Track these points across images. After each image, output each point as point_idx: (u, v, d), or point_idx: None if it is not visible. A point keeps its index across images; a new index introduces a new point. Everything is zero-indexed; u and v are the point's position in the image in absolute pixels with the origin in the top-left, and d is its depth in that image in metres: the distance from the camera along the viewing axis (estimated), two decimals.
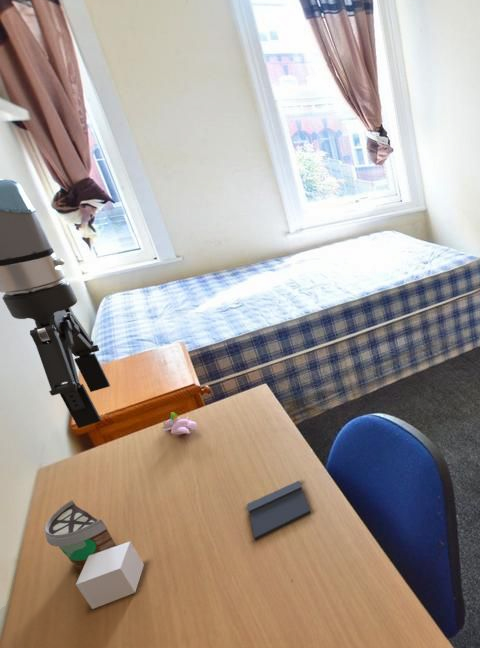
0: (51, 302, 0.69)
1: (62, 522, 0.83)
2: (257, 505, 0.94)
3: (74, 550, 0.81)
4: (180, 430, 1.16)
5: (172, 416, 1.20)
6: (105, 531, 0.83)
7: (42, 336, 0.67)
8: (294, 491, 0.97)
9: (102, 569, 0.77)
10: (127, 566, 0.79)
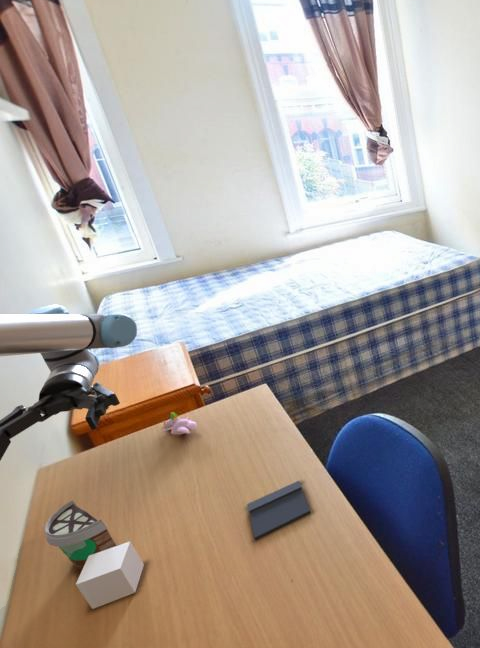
0: None
1: (62, 522, 0.83)
2: (257, 505, 0.94)
3: (74, 550, 0.81)
4: (180, 430, 1.16)
5: (172, 416, 1.20)
6: (105, 531, 0.83)
7: None
8: (294, 491, 0.97)
9: (102, 569, 0.77)
10: (127, 566, 0.79)
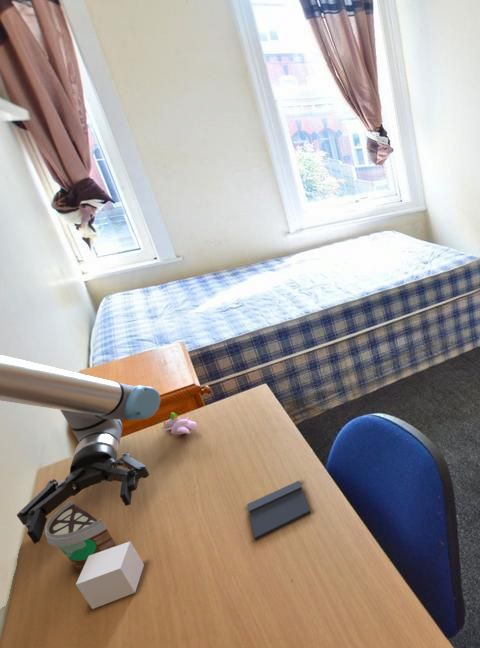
0: None
1: (62, 522, 0.83)
2: (257, 505, 0.94)
3: (74, 550, 0.81)
4: (180, 430, 1.16)
5: (172, 416, 1.20)
6: (105, 531, 0.83)
7: None
8: (294, 491, 0.97)
9: (102, 569, 0.77)
10: (127, 566, 0.79)
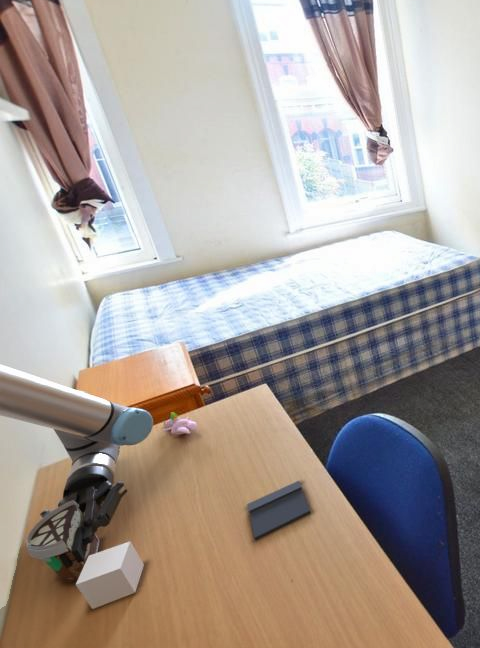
0: None
1: (49, 525, 0.83)
2: (257, 505, 0.94)
3: (45, 560, 0.80)
4: (180, 430, 1.16)
5: (172, 416, 1.20)
6: (69, 552, 0.79)
7: (122, 489, 0.94)
8: (294, 491, 0.97)
9: (102, 569, 0.77)
10: (127, 566, 0.79)
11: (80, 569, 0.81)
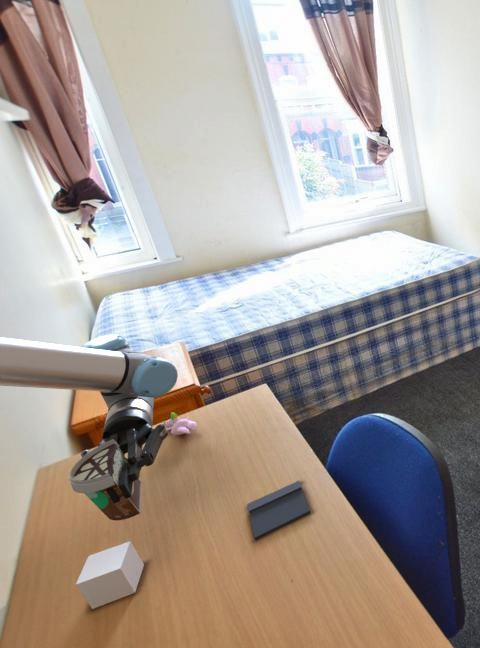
0: None
1: (91, 463, 0.79)
2: (257, 505, 0.94)
3: (90, 497, 0.76)
4: (180, 430, 1.16)
5: (172, 416, 1.20)
6: (115, 486, 0.76)
7: (163, 431, 0.90)
8: (294, 491, 0.97)
9: (102, 569, 0.77)
10: (127, 566, 0.79)
11: (127, 506, 0.78)
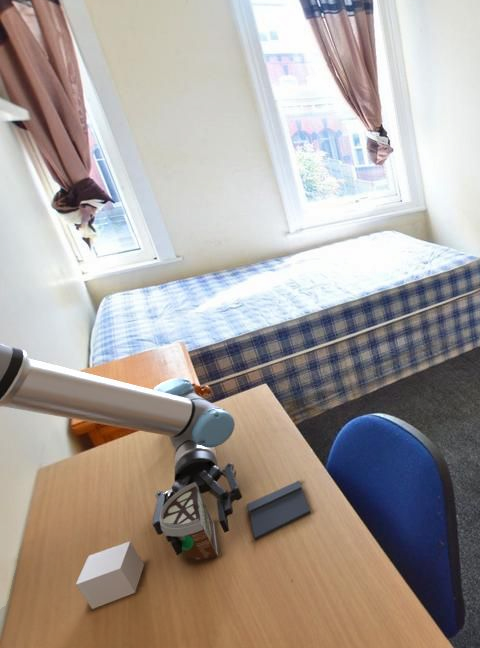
0: None
1: (177, 505, 0.84)
2: (257, 505, 0.94)
3: None
4: None
5: None
6: (202, 531, 0.81)
7: (233, 469, 0.97)
8: (294, 491, 0.97)
9: (102, 569, 0.77)
10: (127, 566, 0.79)
11: (208, 549, 0.83)
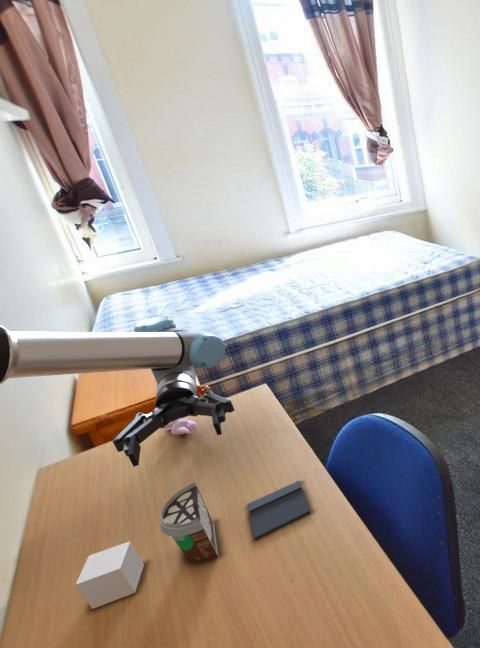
0: None
1: (177, 505, 0.84)
2: (257, 505, 0.94)
3: (177, 539, 0.81)
4: (180, 430, 1.16)
5: None
6: (202, 531, 0.81)
7: None
8: (294, 491, 0.97)
9: (102, 569, 0.77)
10: (127, 566, 0.79)
11: (208, 549, 0.83)
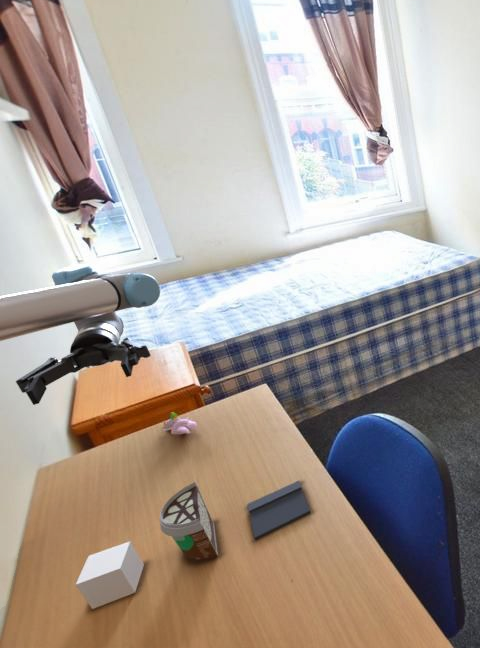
0: None
1: (177, 505, 0.84)
2: (257, 505, 0.94)
3: (177, 539, 0.81)
4: (180, 430, 1.16)
5: (172, 416, 1.20)
6: (202, 531, 0.81)
7: None
8: (294, 491, 0.97)
9: (102, 569, 0.77)
10: (127, 566, 0.79)
11: (208, 549, 0.83)
